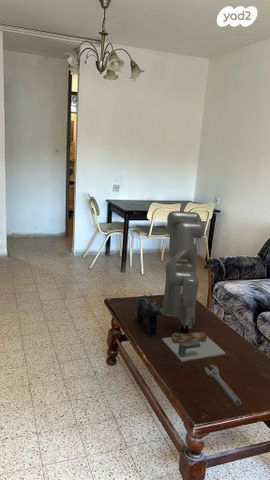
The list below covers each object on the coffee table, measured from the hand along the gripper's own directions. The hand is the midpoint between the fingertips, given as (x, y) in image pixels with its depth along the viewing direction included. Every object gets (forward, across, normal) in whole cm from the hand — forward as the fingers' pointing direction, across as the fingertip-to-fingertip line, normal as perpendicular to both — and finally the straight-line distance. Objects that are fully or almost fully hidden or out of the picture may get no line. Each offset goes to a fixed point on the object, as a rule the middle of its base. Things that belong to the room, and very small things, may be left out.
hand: (184, 334), depth 184 cm
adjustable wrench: (+3, +38, -2) cm, 38 cm away
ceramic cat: (+3, -14, -16) cm, 21 cm away
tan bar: (+1, +4, +1) cm, 4 cm away
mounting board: (+2, +9, +1) cm, 9 cm away
